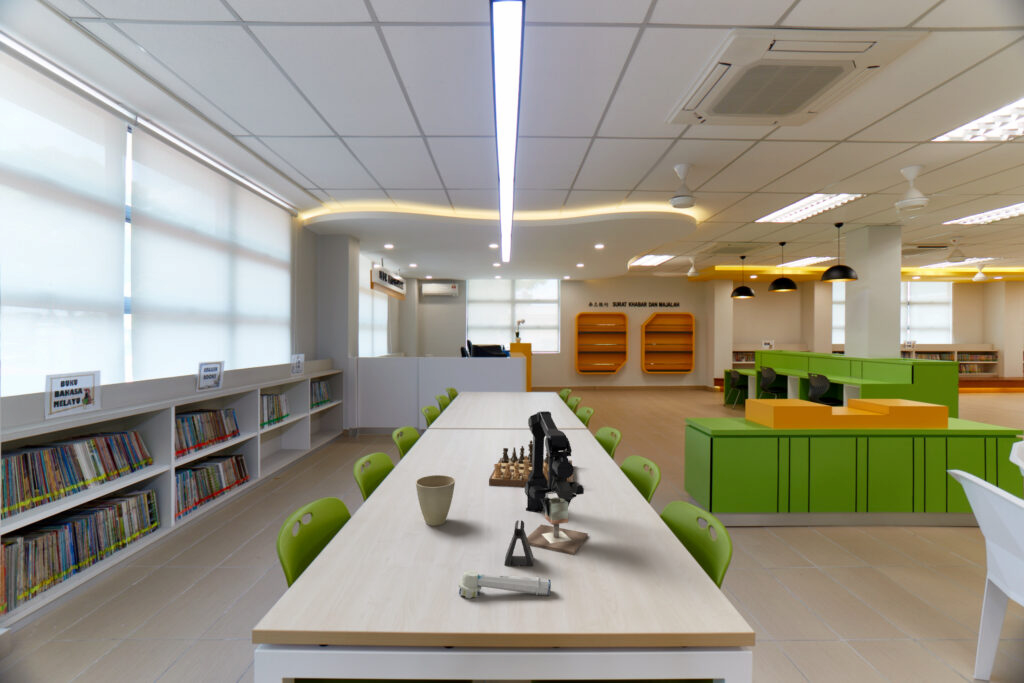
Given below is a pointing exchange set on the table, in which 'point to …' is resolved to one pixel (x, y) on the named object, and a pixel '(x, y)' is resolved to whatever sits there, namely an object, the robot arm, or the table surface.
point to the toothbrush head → (502, 584)
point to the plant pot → (435, 497)
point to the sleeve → (557, 511)
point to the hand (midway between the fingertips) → (556, 514)
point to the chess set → (517, 469)
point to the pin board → (557, 539)
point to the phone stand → (528, 557)
